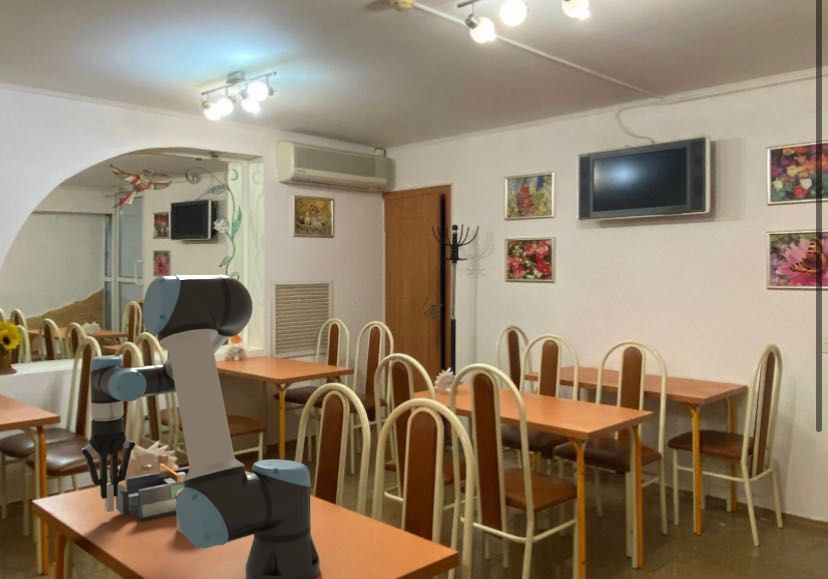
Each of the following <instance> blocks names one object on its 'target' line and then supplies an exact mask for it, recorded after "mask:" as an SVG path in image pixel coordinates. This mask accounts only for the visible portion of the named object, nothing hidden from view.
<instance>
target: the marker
mask: <svg viewBox="0 0 828 579" xmlns="http://www.w3.org/2000/svg"><path fill="white" fill-rule="evenodd" d="M177 474H179V475H180V482H184V481H183V480H184V478H185V477H186V473H184V472H180V473H177Z"/></svg>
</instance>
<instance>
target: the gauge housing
mask: <svg viewBox="0 0 828 579" xmlns="http://www.w3.org/2000/svg"><path fill="white" fill-rule="evenodd" d="M189 469H190V467H189V466H184V467H180V468H179V467H178V468H175V469H173V468H172V470H173V471H174V472H176V473H180V472H184V473H186V475H187V473H188V472H189ZM167 478H170V477H169V476H167V475H166V474H164V473H163V472H162V471H157V472H151V473H147V474H140V475H136V476H135V475H134V476H130V477H125V480H124V487H125V488H126V489H127V490H128V491H129V494H133V493H138V505H134V506H129V511H130V512H131V513H132V514H133V515H134V516H135V517H136V518H137V519H138V520H139V521H140V522H141V523H145V522H144V521H146V522H150V521H154V520H153V519H155V520H159V519H163V518H162V517H164V518H168V517H173V516H177V514H176V497H175V495H176V493H177V491H179V490H180V489H183V488H185V486H184V482H178V483H177V482H175V483H170V484H164V485H163V479H167ZM130 512H129V513H130ZM131 513H130V514H131ZM132 514H131V515H132ZM133 515H132V516H133ZM172 515H173V516H172ZM134 516H133V517H134ZM135 517H134V518H135ZM136 518H135V519H136ZM158 518H159V519H158ZM137 519H136V520H137ZM149 520H150V521H149ZM139 521H138V522H139ZM140 522H139V523H140Z"/></svg>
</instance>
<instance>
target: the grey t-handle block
mask: <svg viewBox="0 0 828 579" xmlns="http://www.w3.org/2000/svg"><path fill="white" fill-rule="evenodd" d="M159 472H163V473H164V474H166V475H167V476H169V477H170V478H167V479H163V485H164V484H170V483H175V482H177V483H178V482H180V475H179V474H177V473H176V472H174V471H173V469H171V468H170V467H169V466H167V465H166V464H164V463H159ZM134 505H138V493H133V494H129V491H128V490H127V489H126V488H125V486H123V484H118V495H117V496H115V509H116V510H117V511H118V512H119V513H120V514H121V515H122V516H128V515H130V512H129V506H134Z"/></svg>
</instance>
